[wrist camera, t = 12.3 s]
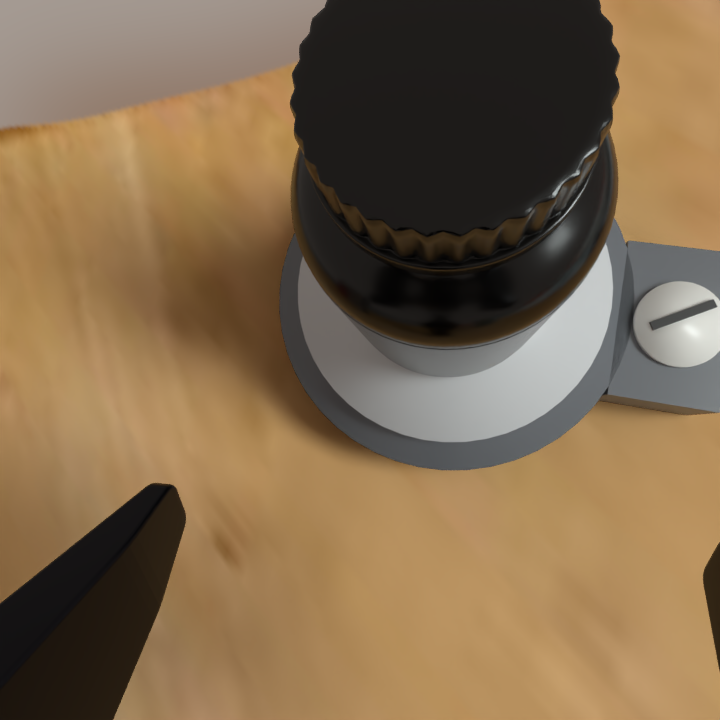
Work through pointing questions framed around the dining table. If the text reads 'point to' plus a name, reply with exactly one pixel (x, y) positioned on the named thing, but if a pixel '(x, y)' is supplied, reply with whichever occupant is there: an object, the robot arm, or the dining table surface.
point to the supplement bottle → (454, 169)
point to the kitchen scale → (521, 362)
